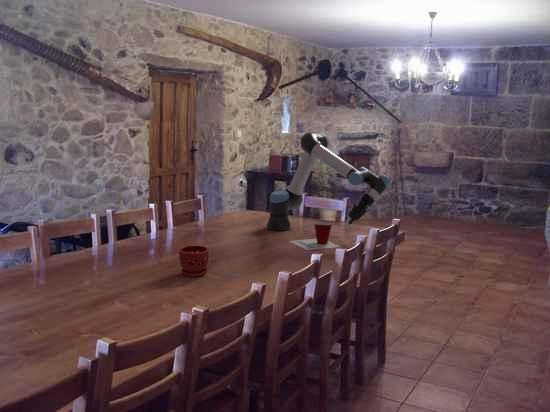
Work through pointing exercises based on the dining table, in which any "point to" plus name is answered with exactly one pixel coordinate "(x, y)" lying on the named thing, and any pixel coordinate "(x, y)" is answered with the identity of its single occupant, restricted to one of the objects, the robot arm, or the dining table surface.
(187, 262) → the plant pot
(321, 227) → the plastic cup
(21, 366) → the dining table surface
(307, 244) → the placemat
